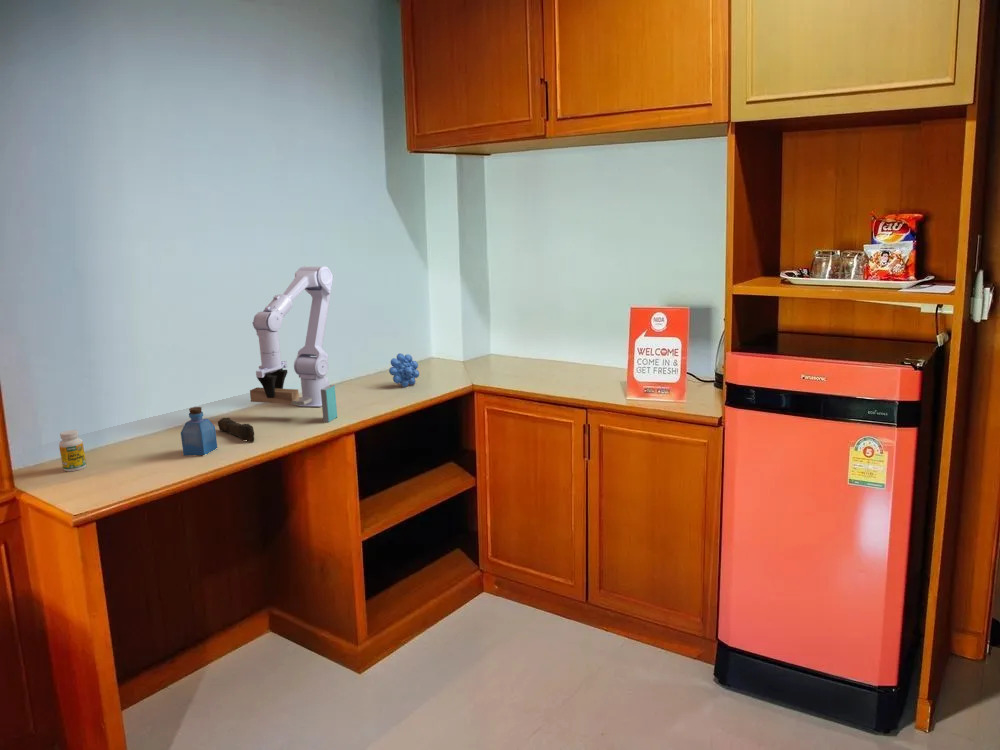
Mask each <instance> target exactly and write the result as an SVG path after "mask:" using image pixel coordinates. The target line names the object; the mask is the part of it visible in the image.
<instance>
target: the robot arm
mask: <svg viewBox="0 0 1000 750" xmlns="http://www.w3.org/2000/svg"><path fill="white" fill-rule="evenodd" d="M333 279H334V276H333V274H332V271H331V270H330V268H329V266H328V267H327V266H306V265H302V266H300V267H299V268H298V269H297V271H295V273H294V279H292V281H291V282H290V284H289V285H288V287H287V288H286V289H285V290H284V292H283V293H282V294H277V295H274V296H273V299H272V300H271V301H270V303H269V304H268V305H266V306H265V308H264V309H263V311H259V312H256V314H255V315H254V317H253V322H252V327H253V328H254V329H255V331H256V336H257V337H258V344H259V353H260V354H259V355H260V362H261V365H259V366H258V370H256V371H255V375H256V379H257V381H258V382H259V383H260V384H261V386H262V388H264V390H265V393H266V396H267V398H274V396H275V388H279V389H284V384H285V379H286V377H287V376H288V369H287V368H288V362H287V360H286V361H285V360H282V357H281V355H282V354H281V347H280V338H279V330H280V329H281V328H282V324H283V320H284V318H285V316H287V314H289V312H290V310H291V309H292V308H293V301H295V299H297V298H298V296H299V295H300V294H302V293H303V291H304V290H305V292H306V293H307V294H309V295H310V296H311V306H310V311H309V318H308V323H307V324H308V325H307V330H306V336H305V337H306V338H305V343H304V346H303V347H302V348H299V350H298V351H297V355H296V358H295V359H294V362H293V371H294V372H295V373H296V375H298V378H300V385H301V386H300V387H301V397H307V398H312V401H311V402H309V403H307V404H305V405H297V407H302V408H303V407H305V408H306V407H313V408H322V399H321V389H323V388H325V387H327V386H329V385H330V381H329V378H328V377H327V376H326V374H327V373H328V370H329V362H328V360H329V354H328V353H327V352H326V351H325V350H324V349H323V346H324V338H325V332H326V325H327V319H328V313H329V307H330V301H331V292H332V285H333Z"/></svg>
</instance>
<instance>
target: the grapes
mask: <svg viewBox="0 0 1000 750" xmlns="http://www.w3.org/2000/svg"><path fill="white" fill-rule="evenodd" d="M390 365H391V367H389V369H388V370H389V374H390V375H391V376H393V377H392V380H393V382H394V383H395V384H400V386H401V387H403V388H406V387H408V386H409V385H411V386H413V385H415V384H416V382H417V381H416V379H417V378H419V376H420V371H419V370H418V368H419V364H418V362H417V360H413V356H412V355H411V354H409V353H407V354H405V355H404V354H403V353H398V354H396V358H394V357H393V358H391V359H390Z"/></svg>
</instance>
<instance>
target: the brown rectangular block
mask: <svg viewBox="0 0 1000 750" xmlns="http://www.w3.org/2000/svg"><path fill="white" fill-rule="evenodd" d="M249 396H250V397H249V398H250V402H251V403H267V404H268V403H269V404H286V405H287V404H288V405H289V404H290V405H295V406H298V405H305V404H307V403H309V402H311V401H312V398H307V397H302V396H300V393H299V388H298V389H296V388H295V389H294V388H283V389H279V388H275V396H274V398H267V396H266V393H265V390H264V388H263V387H254V388H252V389H249ZM299 396H300V397H299Z"/></svg>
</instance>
